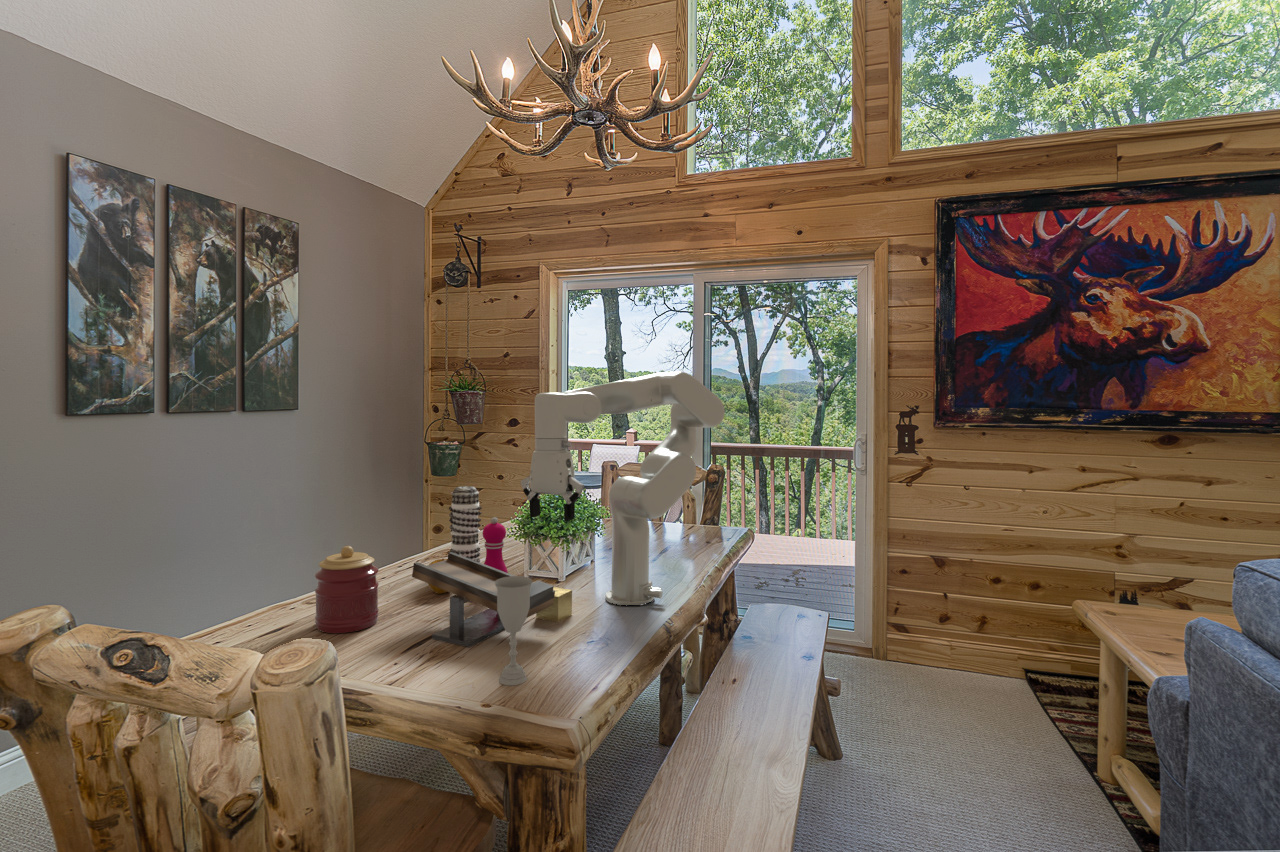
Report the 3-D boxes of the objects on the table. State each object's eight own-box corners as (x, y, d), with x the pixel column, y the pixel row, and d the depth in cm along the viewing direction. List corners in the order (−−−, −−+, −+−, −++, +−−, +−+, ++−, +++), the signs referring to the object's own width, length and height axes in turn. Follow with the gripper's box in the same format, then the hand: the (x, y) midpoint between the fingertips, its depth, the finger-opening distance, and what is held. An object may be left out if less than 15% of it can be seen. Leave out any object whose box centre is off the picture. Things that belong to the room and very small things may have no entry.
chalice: (496, 671, 120) (497, 576, 119) (533, 670, 120) (534, 575, 119) (491, 688, 112) (491, 587, 111) (530, 687, 113) (530, 587, 112)
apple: (462, 595, 165) (462, 561, 165) (425, 599, 162) (425, 563, 161) (458, 585, 173) (458, 553, 173) (423, 589, 170) (423, 555, 170)
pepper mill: (501, 597, 163) (501, 520, 163) (475, 595, 165) (475, 519, 164) (512, 589, 171) (512, 515, 170) (487, 587, 172) (487, 514, 171)
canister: (391, 618, 147) (391, 542, 146) (348, 638, 135) (348, 555, 134) (346, 611, 151) (346, 538, 151) (301, 630, 139) (300, 549, 138)
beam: (553, 609, 141) (557, 584, 141) (518, 627, 130) (522, 600, 129) (450, 568, 154) (453, 545, 153) (409, 582, 142) (412, 557, 141)
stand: (526, 617, 149) (526, 578, 148) (469, 647, 131) (469, 603, 130) (492, 611, 153) (492, 573, 153) (431, 638, 135) (432, 595, 135)
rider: (571, 614, 152) (572, 590, 151) (558, 622, 146) (558, 596, 146) (550, 611, 154) (550, 586, 154) (536, 618, 149) (536, 593, 149)
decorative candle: (476, 576, 182) (477, 489, 181) (444, 576, 183) (444, 489, 182) (485, 568, 192) (485, 485, 191) (454, 567, 192) (454, 485, 191)
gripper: (591, 445, 148) (591, 518, 149) (531, 443, 156) (531, 512, 157) (573, 448, 141) (574, 524, 142) (511, 445, 149) (512, 517, 150)
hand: (551, 518), depth 150 cm, fingers open, 9 cm apart
